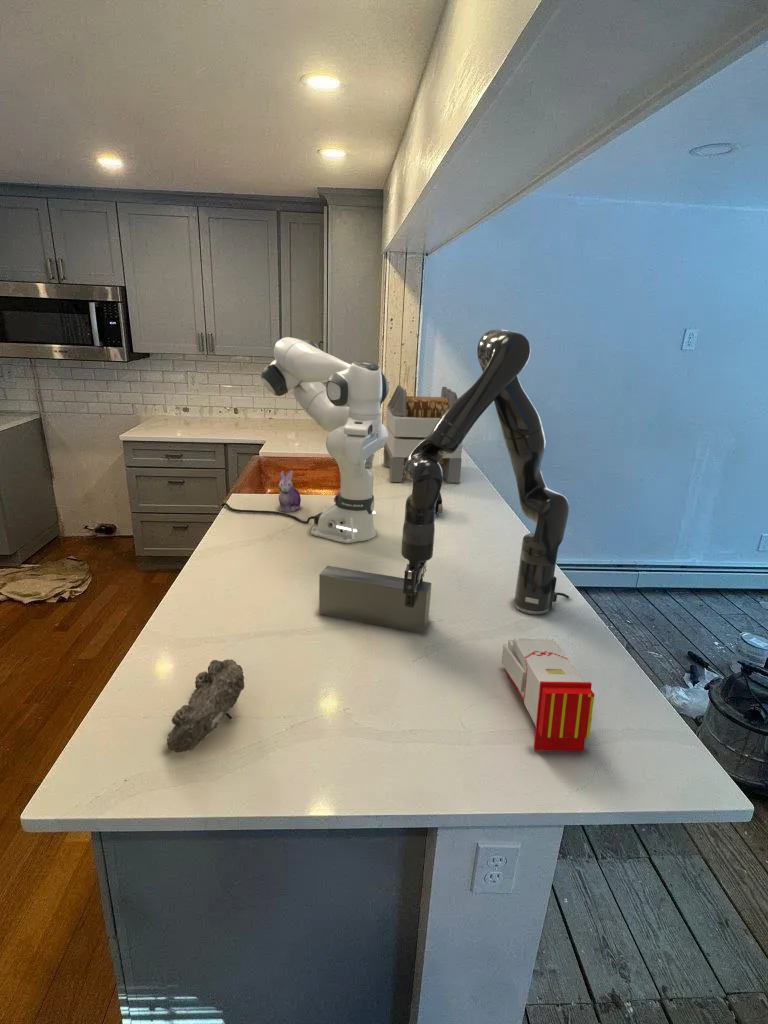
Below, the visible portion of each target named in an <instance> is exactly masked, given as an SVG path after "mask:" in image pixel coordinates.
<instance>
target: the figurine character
mask: <svg viewBox="0 0 768 1024" xmlns="http://www.w3.org/2000/svg"><path fill="white" fill-rule="evenodd" d="M442 513H443V497H442V493H441V492H440V493H439V496H438V499H437V502H436V506H435V518H438V517H439V514H442Z"/></svg>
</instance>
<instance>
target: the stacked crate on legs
mask: <svg viewBox="0 0 768 1024" xmlns="http://www.w3.org/2000/svg"><path fill="white" fill-rule="evenodd" d="M440 393H441V394H440V396H415V395H414V396H413V395H412V396H411V395H407V394H408V393H407V390H406V389H404V388H403V387H402V385H399V384H398V385H397V386H396V388H395V390H394V392H393V394H392V395H391V398H390V400H389V402H388V404H387V405H386V413H385V414H386V415H385V423H386V425H385V427H386V429H387V432H388V441H387V443H386V445H385V446H384V447H383V466H384V467H388V468H389V475H388V476H389V477H388V478H389V480H390V482H391V483H402V482H403V475H404V467H405V463H406V460H407V458H408V457H409V455H410V454H411V453H412V451H413V450H414V449H415V448H416V447H417V446H418V445H419V444H420V443H421V442H422V441H423V440H424V439H425V438H426V437H427V436H428V435H429V434H430V433H431V431H432V430H433V428H434V427H435V425H436V424H437V422H438V421H439V419H440V418H441V417H442V415H443V414H444V412H445V411H446V410H447V409H448V408H449V407H450V405H451V404H452V403H454V402H455V401H456V400H457V399H458V398H459V397H458V395H457V392H455V391H453V390H452V389H451V388H447V386H442V387H441V392H440ZM463 442H464V440H463V441H462V442H461V444H460V445H459V447H458V448H457V449H456V451H455V452H454V453H452V454H446V455H444V456H443V458H442V459H441V460H440V461H439V462H438V463H439V464H440V466H441V468H442V473H443V478H444V479H445V481H446V482H447V483H449V484H455V483H456V484H459V483H461V472H462V461H463V460H462V453H463Z"/></svg>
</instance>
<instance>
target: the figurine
mask: <svg viewBox="0 0 768 1024" xmlns="http://www.w3.org/2000/svg"><path fill="white" fill-rule="evenodd" d="M293 475H294V471H293V470H292V469H291V470H289V471H288V473H286V472H285V470H281V472H280V481H279V482H278V490H279V491H280V492H279V494H278V502H279V503H278V504H279V506H278V507H279V508H278V509H279V512H283V513H288V512H294V511H297V510H299V509H300V508H301V500H302V498H301V494H300V492H299V490H298V489H296V488H294V484H293V482H292V479H293Z"/></svg>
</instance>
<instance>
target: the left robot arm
mask: <svg viewBox="0 0 768 1024" xmlns="http://www.w3.org/2000/svg"><path fill="white" fill-rule="evenodd" d="M273 358H274V360H272V362H271V363H270V364H268V365H266V366H265V367H264V369H263V370H262V372H261V376H260V377H261V380H262V383H263V386H264V388H266V390H267V391H268V392H270V393H271V394H273V395H274V396H276V397H282V396H284V395H286V394H287V393H289V391H291V390H293V391H292V392H293V393H292V394H293V396H294V398H295V400H296V401H297V403H298V404H299V406H300V407H301V408H302V409H303V410H304V411H305V413H306V414H307V415H309V417H310V418H311V419H313V420H314V422H315V423H317V425H319V426H320V427H321V428H322V429H323V430H324V431H326V432H329V433H328V434H327V436H326V438H325V447H326V450H327V453H328V454H329V456H330V457H331V458H333V459H334V460H335V462H336V464H337V466H338V470H339V476H340V477H339V478H340V480H339V481H340V484H339V485H340V488H339V489H340V490H339V491H338V492H337V494H336V495H335V496H334V497H333V502H334V504H333V505H331V506H329V507H328V508H326V509H325V510H323V512H322V511H320V512H319V513H317V514H315V515H312V516H309V517H308V518H307V519H306V520H302V519H300V518H299V517H297V516H296V515H292V514H290V513H287V512H283V511H276V510H256V509H255V510H254V509H238V508H234V507H232V506H231V505H229V503H227V502H223V503H222V504H221V507H225V506H226V507H227V508H228V510H229V511H232V512H238V513H254V514H273V515H274V514H275V515H280V516H285V517H288V518H291V519H294V520H295V521H297V522H300V523H302V524H305V525H306V524H309V523H310V522H311V520H313V523H314V525H313V526H312V528H311V530H310V533H311V536H315V537H319V538H323V539H326V540H330V541H336V542H339V543H343V544H352V543H357V542H365V541H368V540H372V539H373V538H375V537H376V535H377V532H376V528H375V523H374V515H375V514H376V511H375V510H374V509H375V496H374V473H373V471H372V470H371V469H372V468H373V462H374V458H375V453H376V452H378V451H380V450H381V449H382V448H384V446H385V445H386V443H387V441H388V432H387V429H386V425H384V424H383V423H382V408H381V405H382V404H383V402H385V400H386V399H387V396H388V395H389V391H390V385H389V381H388V379H387V377H386V375H385V374H384V372H382V370H381V367H380V366H379V364H377V363H375V362H372V361H367V360H356V361H353V362H352V363H351V362H349V361H346V360H344V359H341V358H338V357H336V356H334V355H332V354H330V353H327V352H325V351H324V350H322V349H320V348H319V346H318V345H317V343H315V342H314V341H313V340H311V339H309V338H306V337H305V338H302V339H299V338H297V337H292V336H286V337H282V338H280V339H279V340H278V341H276V343H275V345H274V347H273ZM323 382H324V383H326V385H325V384H323Z"/></svg>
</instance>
